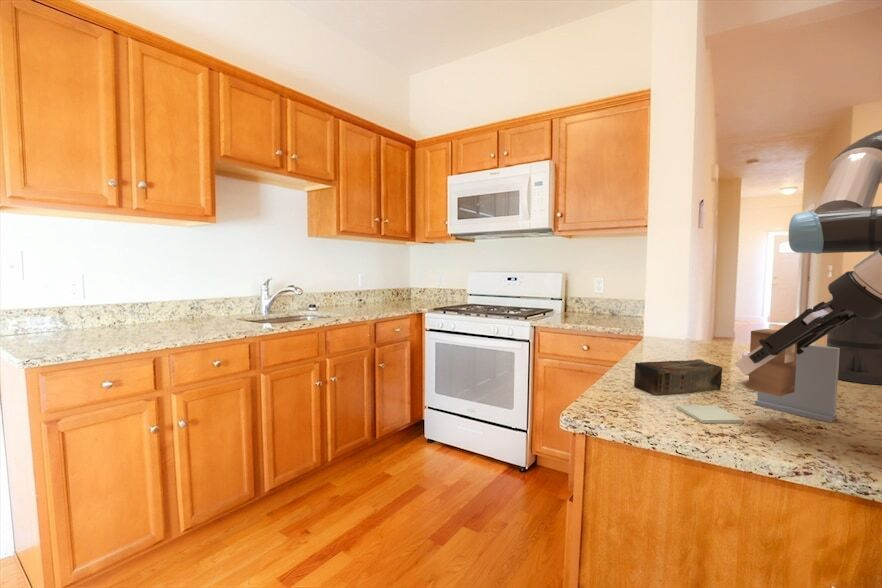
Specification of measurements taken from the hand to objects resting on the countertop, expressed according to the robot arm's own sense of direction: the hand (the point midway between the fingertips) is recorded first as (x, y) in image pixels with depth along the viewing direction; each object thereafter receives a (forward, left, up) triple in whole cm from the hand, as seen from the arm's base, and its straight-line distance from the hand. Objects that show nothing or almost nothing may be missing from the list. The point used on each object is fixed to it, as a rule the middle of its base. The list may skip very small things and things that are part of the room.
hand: (749, 367), depth 78 cm
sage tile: (+6, -2, -10) cm, 12 cm away
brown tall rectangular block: (-2, +3, -4) cm, 5 cm away
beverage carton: (+2, -20, -11) cm, 23 cm away
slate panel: (-13, -4, -10) cm, 17 cm away
